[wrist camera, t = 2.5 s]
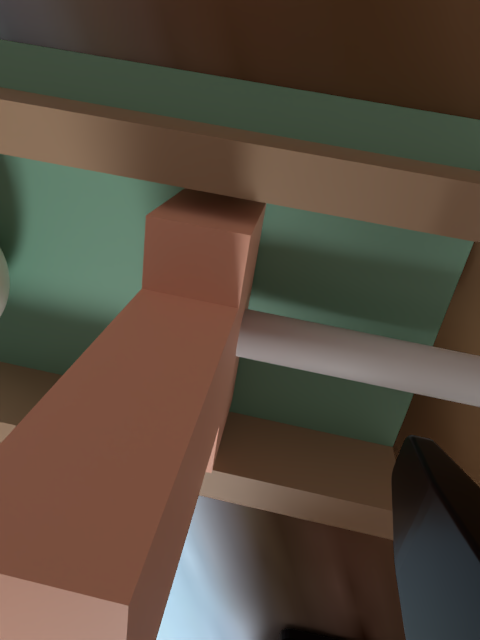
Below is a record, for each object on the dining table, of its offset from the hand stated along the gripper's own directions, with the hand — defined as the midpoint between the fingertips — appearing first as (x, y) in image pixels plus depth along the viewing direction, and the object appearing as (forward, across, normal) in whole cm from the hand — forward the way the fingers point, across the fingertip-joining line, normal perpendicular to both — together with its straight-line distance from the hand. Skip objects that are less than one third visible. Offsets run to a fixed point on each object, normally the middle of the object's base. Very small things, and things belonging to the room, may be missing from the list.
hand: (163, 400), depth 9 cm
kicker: (+4, -3, 0) cm, 5 cm away
